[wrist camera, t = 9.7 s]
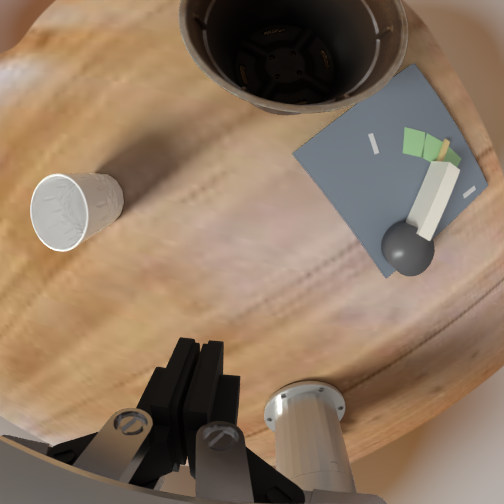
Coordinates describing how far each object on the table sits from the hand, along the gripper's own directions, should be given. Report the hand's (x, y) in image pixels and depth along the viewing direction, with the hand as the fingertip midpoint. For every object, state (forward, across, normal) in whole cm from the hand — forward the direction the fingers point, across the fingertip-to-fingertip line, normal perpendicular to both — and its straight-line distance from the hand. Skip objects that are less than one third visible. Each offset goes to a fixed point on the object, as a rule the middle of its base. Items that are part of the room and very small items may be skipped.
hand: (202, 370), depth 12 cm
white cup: (+26, +18, -3) cm, 32 cm away
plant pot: (+26, -3, -20) cm, 33 cm away
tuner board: (+26, -19, -9) cm, 34 cm away
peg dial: (+25, -21, -6) cm, 33 cm away
